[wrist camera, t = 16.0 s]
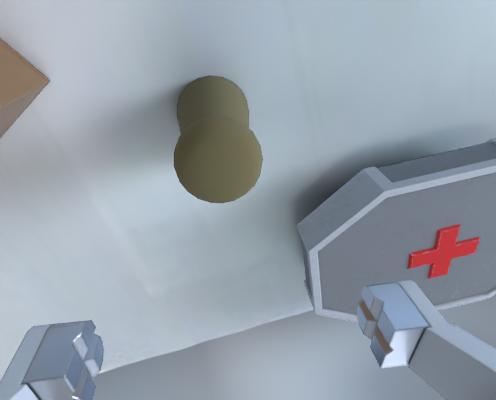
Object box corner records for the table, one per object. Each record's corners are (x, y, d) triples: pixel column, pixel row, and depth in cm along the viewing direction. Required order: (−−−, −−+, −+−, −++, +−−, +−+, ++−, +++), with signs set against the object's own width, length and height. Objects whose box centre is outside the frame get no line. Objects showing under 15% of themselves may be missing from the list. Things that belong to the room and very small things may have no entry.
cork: (182, 149, 27) (173, 223, 18) (171, 77, 24) (152, 124, 15) (249, 144, 28) (273, 214, 19) (247, 73, 24) (276, 115, 15)
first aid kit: (533, 107, 29) (282, 166, 29) (623, 135, 23) (304, 210, 23) (488, 240, 39) (299, 285, 39) (542, 285, 33) (318, 338, 33)
